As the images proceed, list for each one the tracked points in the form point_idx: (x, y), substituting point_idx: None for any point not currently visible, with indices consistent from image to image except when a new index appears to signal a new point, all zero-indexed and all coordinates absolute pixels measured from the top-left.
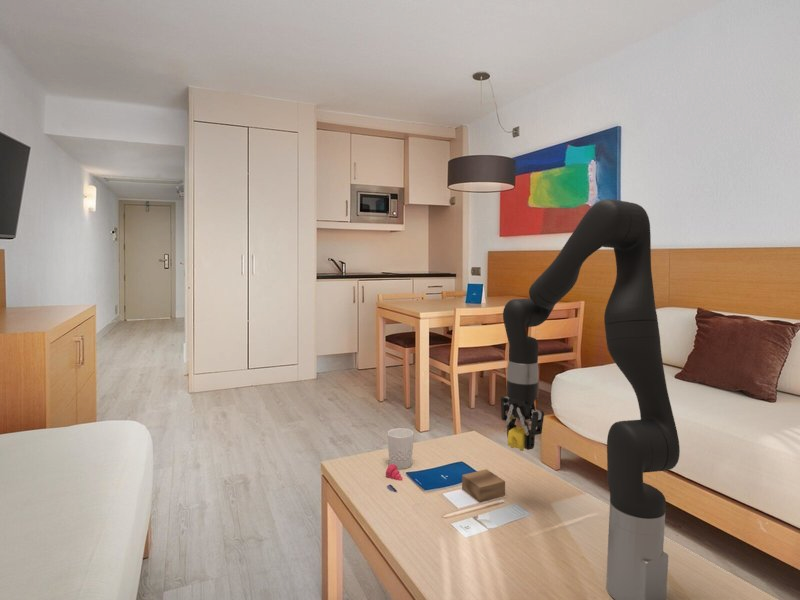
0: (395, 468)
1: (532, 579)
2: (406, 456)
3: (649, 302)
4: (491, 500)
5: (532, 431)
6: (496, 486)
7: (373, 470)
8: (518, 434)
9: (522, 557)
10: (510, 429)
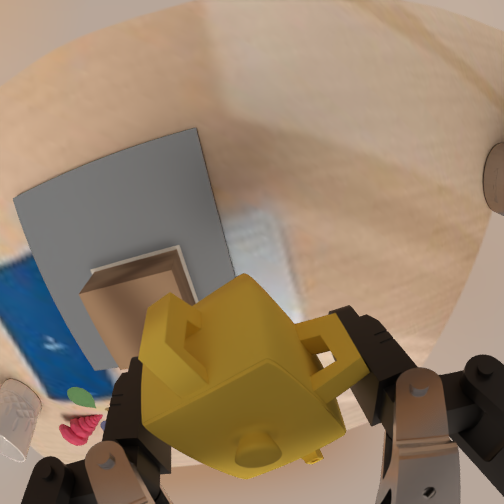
0: (75, 435)
1: (439, 300)
2: (28, 413)
3: None
4: (196, 295)
5: (469, 428)
6: (184, 297)
7: (56, 432)
8: (318, 444)
9: (401, 297)
10: (165, 444)
